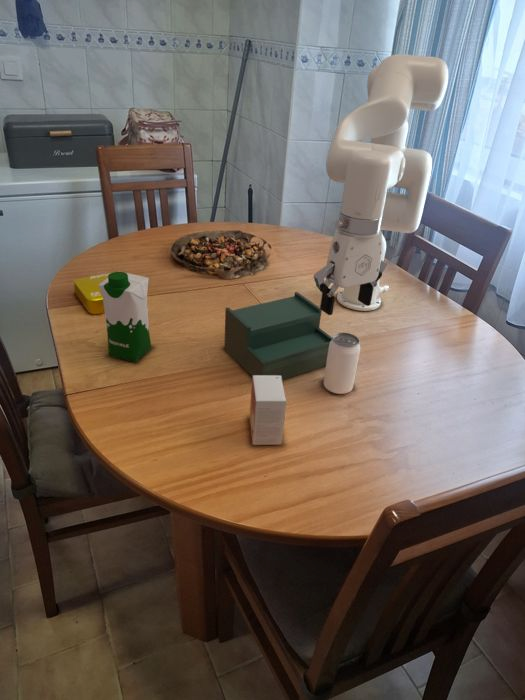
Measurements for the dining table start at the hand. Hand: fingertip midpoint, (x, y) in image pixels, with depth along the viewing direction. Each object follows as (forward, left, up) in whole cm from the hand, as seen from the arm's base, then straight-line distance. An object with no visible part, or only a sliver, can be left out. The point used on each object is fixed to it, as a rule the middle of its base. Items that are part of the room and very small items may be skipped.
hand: (345, 307), depth 102 cm
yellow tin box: (+30, -60, -19) cm, 70 cm away
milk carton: (+34, -32, -19) cm, 51 cm away
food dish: (-12, -74, -19) cm, 77 cm away
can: (-1, +1, -19) cm, 19 cm away
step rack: (+4, -15, -19) cm, 25 cm away
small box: (+21, +6, -19) cm, 29 cm away
